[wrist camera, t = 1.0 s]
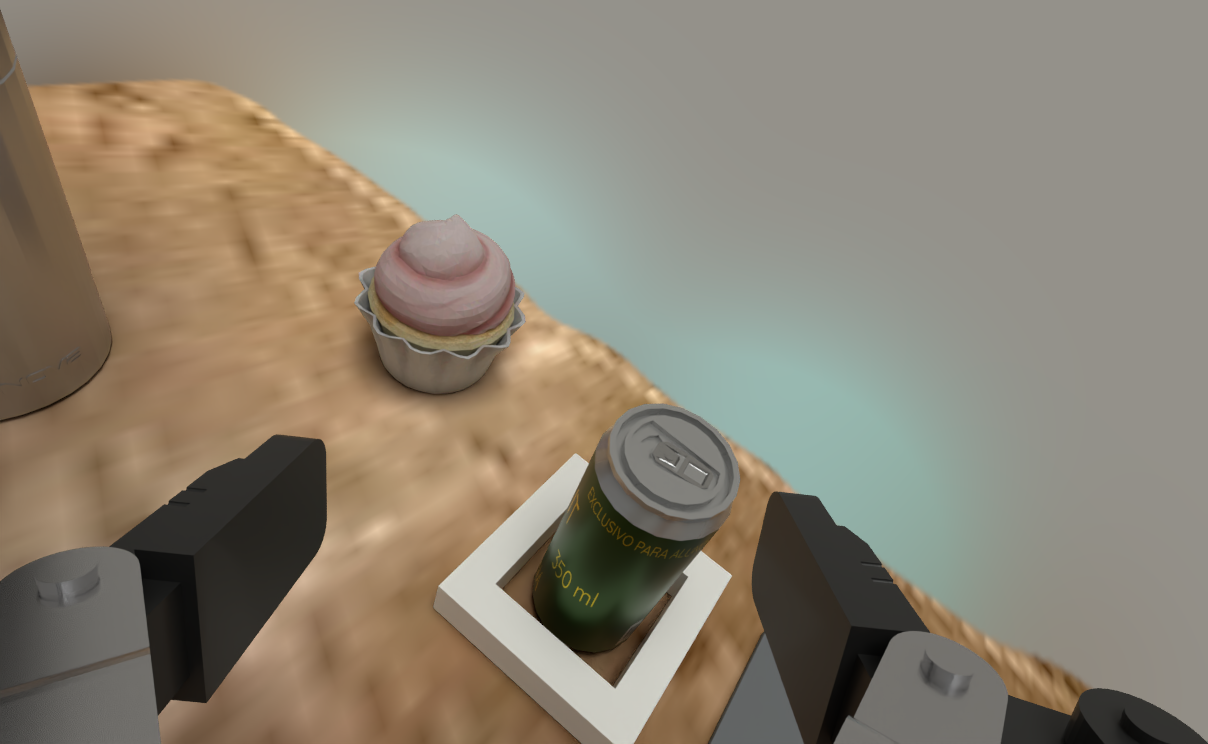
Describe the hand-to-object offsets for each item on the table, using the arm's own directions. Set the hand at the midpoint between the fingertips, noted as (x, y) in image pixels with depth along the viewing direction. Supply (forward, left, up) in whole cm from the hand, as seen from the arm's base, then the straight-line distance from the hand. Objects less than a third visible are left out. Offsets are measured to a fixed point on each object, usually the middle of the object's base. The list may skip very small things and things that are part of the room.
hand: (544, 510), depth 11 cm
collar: (+1, +9, -19) cm, 21 cm away
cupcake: (-15, +15, -19) cm, 29 cm away
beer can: (+1, +9, -19) cm, 21 cm away
